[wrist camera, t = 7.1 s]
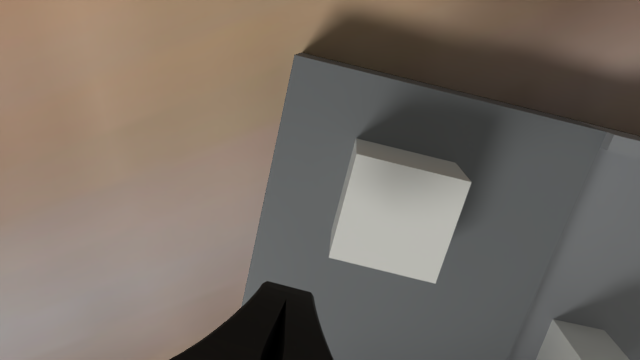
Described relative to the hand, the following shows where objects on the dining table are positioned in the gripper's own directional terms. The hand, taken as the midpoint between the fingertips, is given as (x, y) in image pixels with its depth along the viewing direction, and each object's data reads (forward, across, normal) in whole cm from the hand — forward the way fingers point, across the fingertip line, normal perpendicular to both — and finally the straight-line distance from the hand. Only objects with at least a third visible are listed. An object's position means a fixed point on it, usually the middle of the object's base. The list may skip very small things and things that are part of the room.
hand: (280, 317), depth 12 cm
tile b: (+7, -3, -2) cm, 8 cm away
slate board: (+10, -4, +2) cm, 11 cm away
